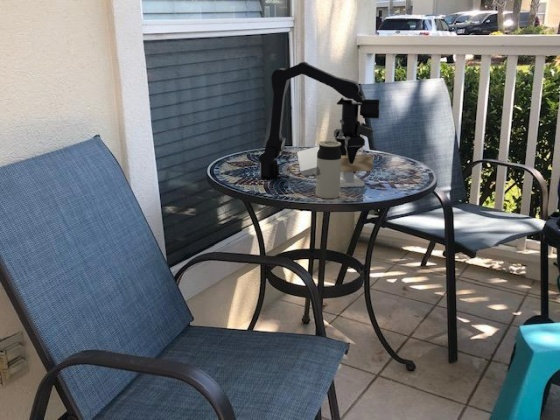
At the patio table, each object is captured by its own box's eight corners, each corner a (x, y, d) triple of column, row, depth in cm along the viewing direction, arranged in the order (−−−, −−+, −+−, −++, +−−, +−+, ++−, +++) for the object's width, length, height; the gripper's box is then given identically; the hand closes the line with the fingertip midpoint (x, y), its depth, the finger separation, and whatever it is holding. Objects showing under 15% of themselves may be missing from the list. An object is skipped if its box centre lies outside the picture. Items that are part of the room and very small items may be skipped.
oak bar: (368, 168, 210) (369, 154, 209) (372, 170, 206) (373, 157, 205) (321, 169, 207) (322, 155, 206) (324, 172, 203) (324, 158, 202)
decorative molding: (303, 183, 218) (328, 176, 217) (300, 171, 216) (325, 164, 215) (299, 162, 250) (321, 156, 249) (297, 151, 249) (319, 146, 248)
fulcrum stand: (337, 186, 202) (338, 174, 200) (328, 178, 213) (329, 166, 211) (364, 185, 203) (365, 173, 202) (354, 177, 215) (354, 165, 213)
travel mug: (338, 192, 195) (341, 140, 189) (339, 199, 187) (342, 145, 182) (315, 192, 195) (317, 140, 190) (315, 198, 188) (317, 145, 182)
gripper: (380, 121, 194) (377, 166, 198) (363, 113, 211) (360, 154, 216) (349, 122, 192) (346, 167, 196) (334, 113, 209) (332, 155, 214)
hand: (347, 160), depth 206 cm, fingers open, 9 cm apart
